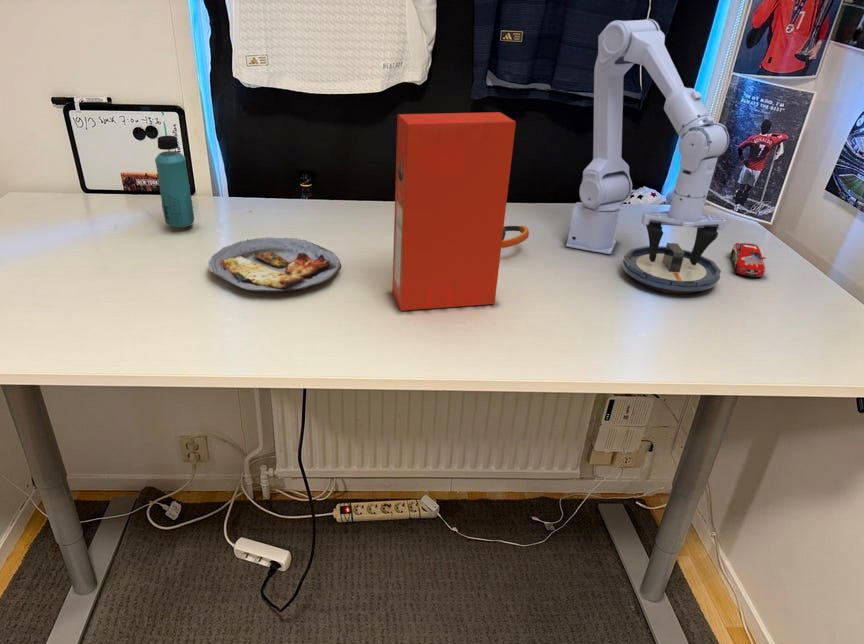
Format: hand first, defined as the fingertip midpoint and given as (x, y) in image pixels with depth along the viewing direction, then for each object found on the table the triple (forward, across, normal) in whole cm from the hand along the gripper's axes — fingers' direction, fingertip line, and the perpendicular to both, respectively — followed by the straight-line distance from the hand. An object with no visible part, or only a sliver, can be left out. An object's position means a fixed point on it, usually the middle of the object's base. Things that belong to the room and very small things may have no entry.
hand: (672, 261), depth 132 cm
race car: (+4, +17, +10) cm, 20 cm away
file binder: (+4, -43, -17) cm, 47 cm away
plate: (+2, 0, 0) cm, 2 cm away
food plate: (+4, -76, -12) cm, 77 cm away
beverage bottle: (+4, -103, +6) cm, 103 cm away
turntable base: (+4, 0, 0) cm, 4 cm away
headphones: (+4, -37, +9) cm, 38 cm away
